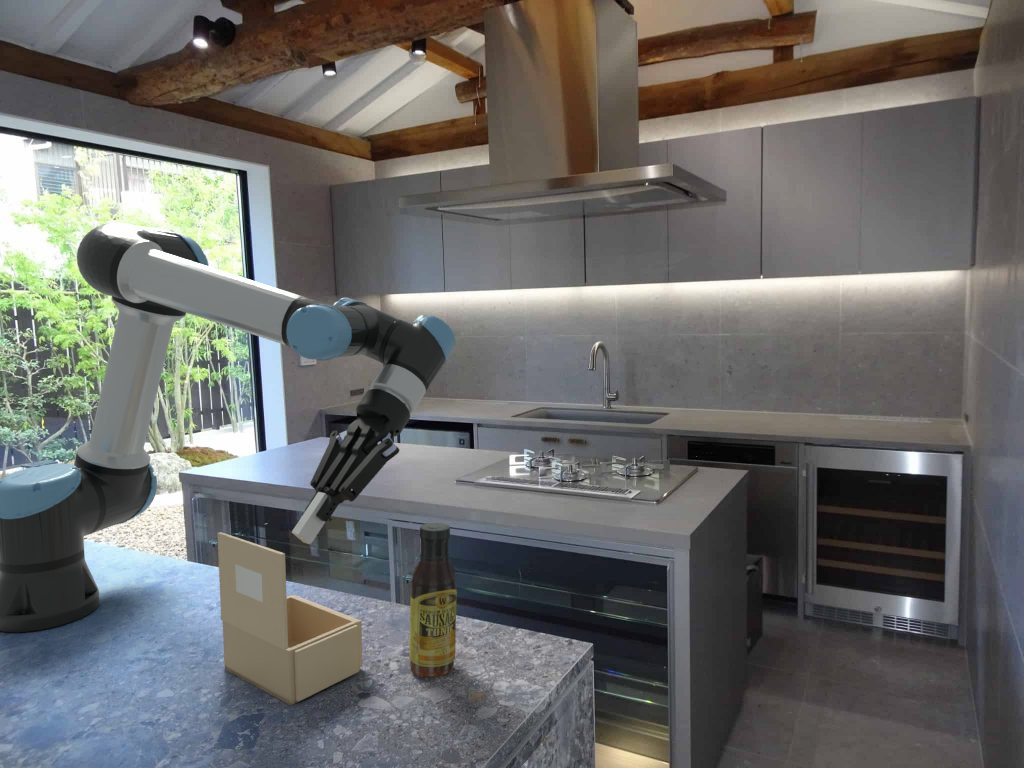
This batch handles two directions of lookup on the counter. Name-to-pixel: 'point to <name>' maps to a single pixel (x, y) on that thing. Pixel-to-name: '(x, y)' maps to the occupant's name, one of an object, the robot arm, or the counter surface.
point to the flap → (253, 589)
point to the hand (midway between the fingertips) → (301, 538)
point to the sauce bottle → (433, 605)
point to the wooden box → (297, 652)
